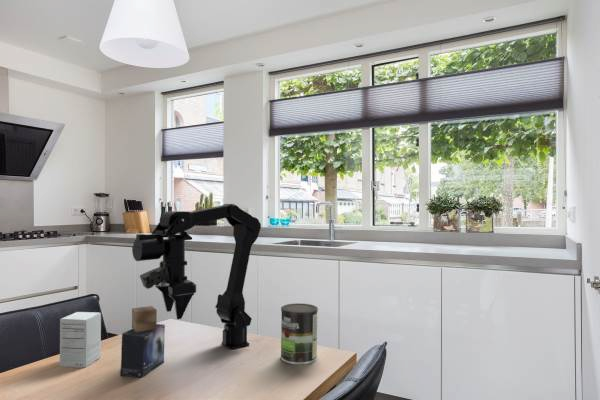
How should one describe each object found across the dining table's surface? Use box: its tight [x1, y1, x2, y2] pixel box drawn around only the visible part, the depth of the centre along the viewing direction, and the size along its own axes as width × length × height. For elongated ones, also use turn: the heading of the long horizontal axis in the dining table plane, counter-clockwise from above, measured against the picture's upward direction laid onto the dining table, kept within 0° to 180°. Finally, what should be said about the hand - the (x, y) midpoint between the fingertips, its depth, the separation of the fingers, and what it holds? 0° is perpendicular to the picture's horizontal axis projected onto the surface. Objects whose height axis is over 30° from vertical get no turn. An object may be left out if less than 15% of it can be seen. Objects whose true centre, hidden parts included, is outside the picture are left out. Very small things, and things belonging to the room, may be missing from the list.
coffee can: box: [280, 303, 319, 366], centre depth 114 cm, size 10×10×14 cm
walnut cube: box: [131, 305, 158, 332], centre depth 106 cm, size 5×5×5 cm
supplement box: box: [59, 311, 102, 368], centre depth 110 cm, size 7×7×13 cm
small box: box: [119, 323, 166, 378], centre depth 106 cm, size 11×6×10 cm, turn 168°
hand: (173, 315), depth 110 cm, fingers open, 9 cm apart
